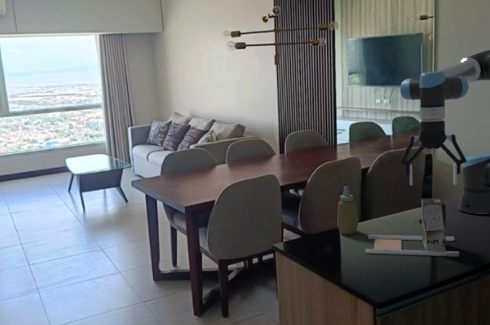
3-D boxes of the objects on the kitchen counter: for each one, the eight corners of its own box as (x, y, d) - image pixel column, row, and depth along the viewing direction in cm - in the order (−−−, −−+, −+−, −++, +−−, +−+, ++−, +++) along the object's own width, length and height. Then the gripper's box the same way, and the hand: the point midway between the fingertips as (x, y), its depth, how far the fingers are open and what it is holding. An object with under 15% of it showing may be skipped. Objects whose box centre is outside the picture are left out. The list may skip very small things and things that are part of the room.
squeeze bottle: (339, 228, 196) (337, 184, 193) (360, 229, 193) (358, 184, 190) (335, 235, 188) (333, 188, 185) (357, 236, 186) (355, 189, 183)
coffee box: (446, 252, 163) (446, 204, 161) (425, 252, 165) (425, 204, 162) (441, 242, 172) (441, 197, 170) (422, 242, 174) (421, 197, 171)
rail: (453, 239, 174) (453, 236, 174) (459, 256, 159) (458, 252, 159) (368, 237, 183) (368, 234, 183) (365, 253, 168) (365, 249, 167)
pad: (401, 241, 177) (401, 239, 177) (401, 251, 167) (401, 250, 166) (375, 240, 180) (375, 239, 180) (373, 250, 169) (373, 249, 169)
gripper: (392, 122, 162) (393, 186, 165) (476, 119, 154) (475, 186, 158) (392, 120, 169) (393, 181, 172) (472, 117, 161) (472, 181, 165)
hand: (432, 184), depth 165 cm, fingers open, 13 cm apart
